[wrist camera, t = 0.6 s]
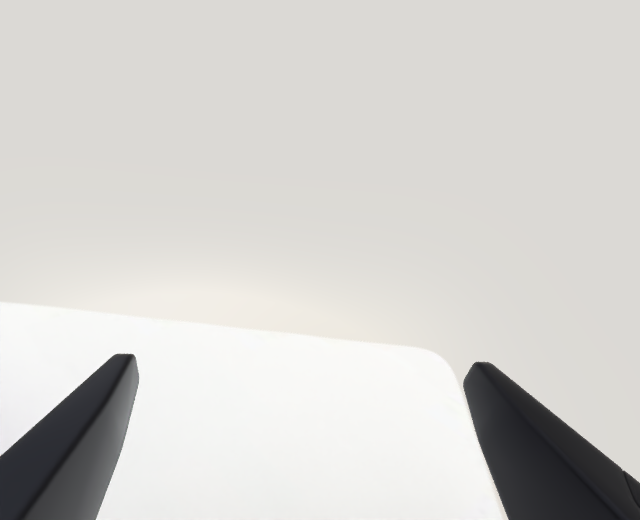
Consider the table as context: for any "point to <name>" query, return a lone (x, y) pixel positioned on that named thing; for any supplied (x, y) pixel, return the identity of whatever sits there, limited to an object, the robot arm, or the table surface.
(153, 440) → the table surface
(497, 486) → the robot arm
